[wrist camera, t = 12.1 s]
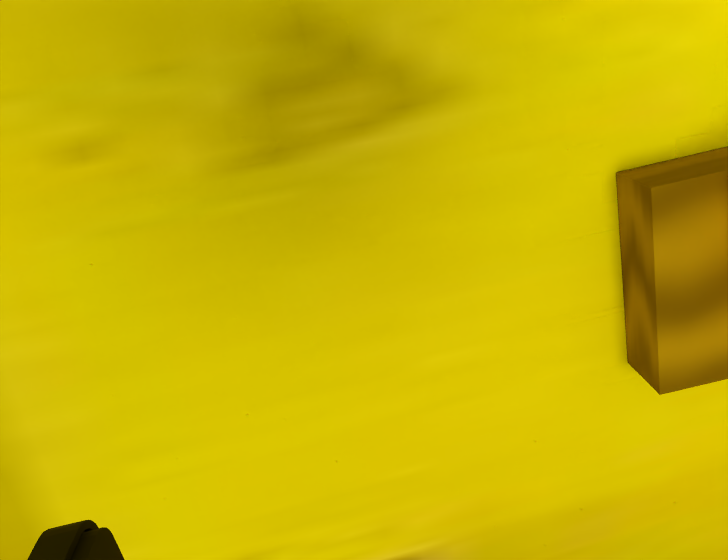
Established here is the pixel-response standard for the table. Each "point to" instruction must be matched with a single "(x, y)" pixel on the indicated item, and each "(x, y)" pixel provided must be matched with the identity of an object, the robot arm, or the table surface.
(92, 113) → the table surface
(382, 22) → the table surface
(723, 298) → the walnut block
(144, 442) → the table surface
